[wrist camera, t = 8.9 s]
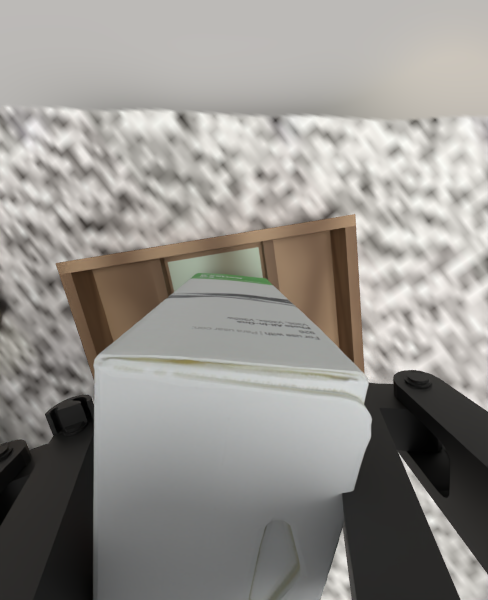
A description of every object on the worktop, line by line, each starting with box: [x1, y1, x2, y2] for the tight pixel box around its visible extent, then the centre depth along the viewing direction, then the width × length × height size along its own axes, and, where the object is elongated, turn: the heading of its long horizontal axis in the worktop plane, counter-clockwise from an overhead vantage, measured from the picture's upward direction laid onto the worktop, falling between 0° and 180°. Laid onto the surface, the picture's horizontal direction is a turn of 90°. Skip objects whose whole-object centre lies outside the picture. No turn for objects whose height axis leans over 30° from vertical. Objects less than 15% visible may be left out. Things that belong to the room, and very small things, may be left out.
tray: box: [56, 214, 364, 379], centre depth 20 cm, size 22×14×4 cm, turn 99°
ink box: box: [93, 273, 372, 600], centre depth 10 cm, size 9×5×12 cm, turn 173°
